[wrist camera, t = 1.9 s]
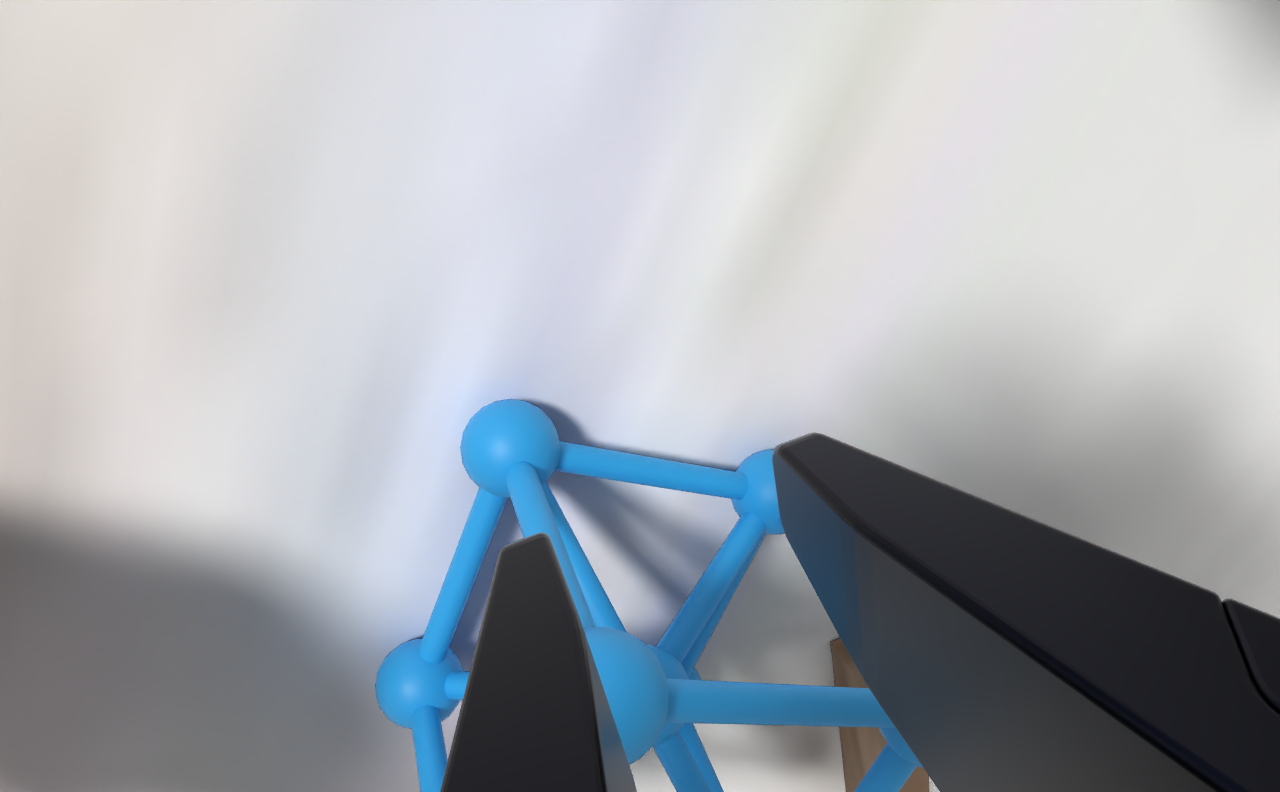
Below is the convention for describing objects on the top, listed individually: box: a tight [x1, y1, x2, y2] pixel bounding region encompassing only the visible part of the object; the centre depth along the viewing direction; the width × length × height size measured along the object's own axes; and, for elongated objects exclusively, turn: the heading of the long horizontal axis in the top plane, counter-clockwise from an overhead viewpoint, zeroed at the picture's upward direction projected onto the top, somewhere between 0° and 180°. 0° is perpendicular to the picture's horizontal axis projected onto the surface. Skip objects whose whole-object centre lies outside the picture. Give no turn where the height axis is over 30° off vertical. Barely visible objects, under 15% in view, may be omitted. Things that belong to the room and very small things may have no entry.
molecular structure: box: [375, 399, 923, 792], centre depth 22 cm, size 10×10×10 cm
